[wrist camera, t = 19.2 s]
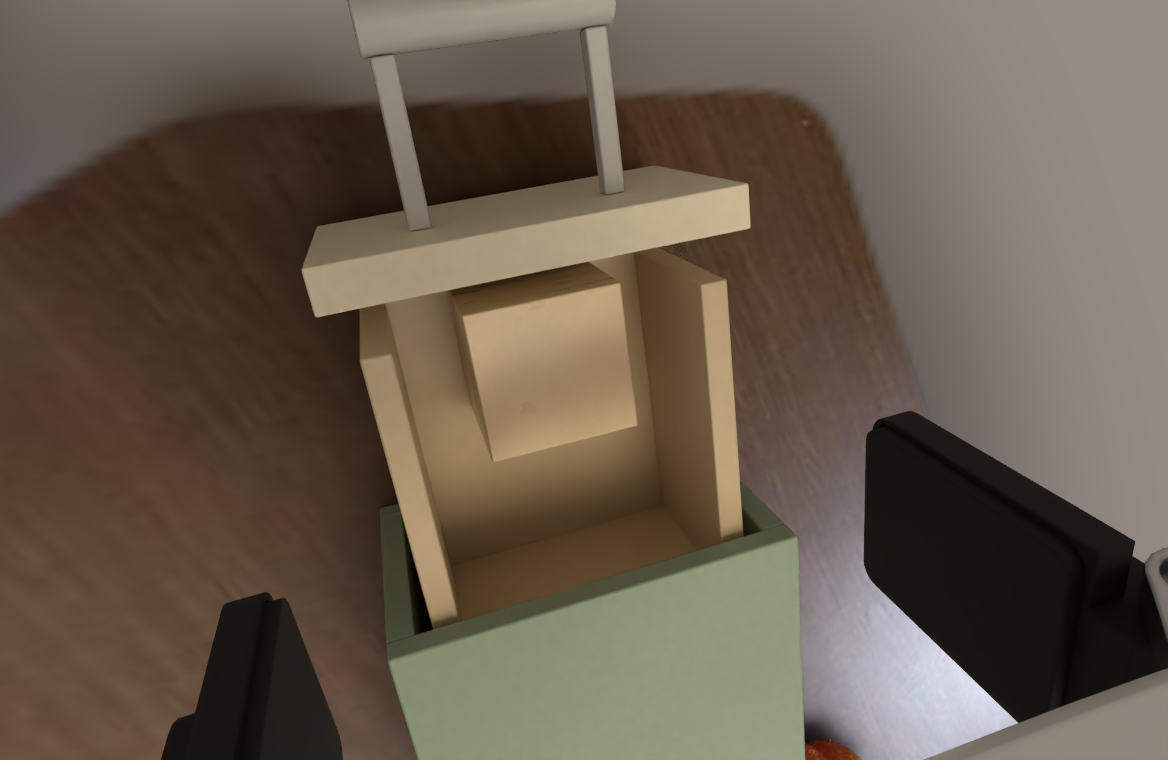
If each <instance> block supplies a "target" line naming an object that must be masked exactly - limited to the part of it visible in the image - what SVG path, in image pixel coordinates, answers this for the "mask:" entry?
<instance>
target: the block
mask: <svg viewBox="0 0 1168 760" xmlns="http://www.w3.org/2000/svg"><path fill="white" fill-rule="evenodd" d="M447 295H448V300H449V305H450V309H451V314H452V319H453V323H454V328H455V332H456V337H457V342H458V346H459V351H460V356H461V360H462V365H463V369H464V374H465V379H466V383H467V388H468V393H469V397H470V402H471V406H472V409H473V411H474V414H475V417H476V419H477V422H478V425H479V427H480V430H481V433H482V435H483V438H484V441H485V443H486V446H487V449H488V451H489V454H490V457H491V459H492V462H498V461H502V460H506V459H510V458H513V457H517V456H521V455H525V454H529V453H533V452H537V451H541V450H545V449H549V448H552V447H556V446H560V445H564V444H568V443H572V442H576V441H580V440H584V439H587V438H591V437H595V436H599V435H603V434H607V433H611V432H615V431H619V430H622V429H626V428H630V427H634V426H637V425H638V422H637V414H636V406H635V398H634V390H633V382H632V374H631V365H630V357H629V349H628V341H627V333H626V325H625V317H624V308H623V300H622V292H621V284H620V282H618V281H617V280H615V279H614V278H612V277H611V276H609V275H608V274H606V273H605V272H603V271H602V270H600V269H599V268H597V267H596V266H594V265H593V264H591V263H590V262H584V263H579V264H574V265H569V266H564V267H560V268H555V269H550V270H545V271H540V272H535V273H530V274H525V275H521V276H516V277H511V278H506V279H501V280H496V281H491V282H487V283H482V284H477V285H472V286H467V287H462V288H457V289H452V290H448V291H447Z"/></svg>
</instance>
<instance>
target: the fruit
mask: <svg viewBox="0 0 1168 760" xmlns="http://www.w3.org/2000/svg"><path fill="white" fill-rule="evenodd" d="M805 760H860V757H858V756H857V755H855V754H854V753H853V752H852V751H851V750H850V749H849V748H846V747H844V746H841V745H840V744H839V743H836V742H833V741H832V740H831V738H830V739H829V740H827V741H823V740H821V739H820V740H817V741H812V742H808V743H807V744H806V743H805Z"/></svg>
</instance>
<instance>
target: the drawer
mask: <svg viewBox="0 0 1168 760" xmlns="http://www.w3.org/2000/svg"><path fill="white" fill-rule="evenodd" d="M347 1H348V6H349V10H350V14H351V19H352V23H353V27H354V32H355V36H356V40H357V44H358V49H359V53H360V56H361V58H363V59H366V58H371V59H370V64H371V68H372V72H373V76H374V81H375V85H376V90H377V94H378V98H379V103H380V107H381V111H382V116H383V120H384V125H385V129H386V133H387V138H388V142H389V146H390V151H391V155H392V159H393V164H394V168H395V173H396V177H397V181H398V186H399V190H400V194H401V199H402V203H403V207H404V211H399V212H394V213H388V214H383V215H377V216H372V217H366V218H361V219H355V220H350V221H344V222H339V223H333V224H327V225H322V226H317V228H316V231H315V233H314V236H313V239H312V242H311V245H310V247H309V250H308V253H307V256H306V259H305V261H304V264H303V267H302V274H303V277H304V281H305V284H306V288H307V291H308V295H309V298H310V301H311V305H312V308H313V312H314V315H315V317H321V316H326V315H331V314H336V313H341V312H345V311H350V310H355V309H360V364H361V368H362V372H363V375H364V379H365V383H366V386H367V390H368V394H369V397H370V401H371V405H372V408H373V412H374V416H375V419H376V423H377V427H378V430H379V434H380V437H381V441H382V445H383V448H384V452H385V456H386V459H387V463H388V467H389V470H390V474H391V478H392V481H393V485H394V489H395V492H396V496H397V500H398V503H399V507H400V511H401V514H402V518H403V522H404V525H405V529H406V533H407V536H408V540H409V544H410V547H411V551H412V555H413V558H414V562H415V565H416V569H417V573H418V576H419V580H420V584H421V587H422V591H423V595H424V598H425V602H426V606H427V609H428V613H429V617H430V620H431V624H432V628H433V630H434V629H437V628H441V627H444V626H447V625H451V624H454V623H457V622H461V621H464V620H467V619H471V618H474V617H477V616H481V615H484V614H487V613H491V612H494V611H497V610H501V609H504V608H507V607H511V606H514V605H517V604H521V603H524V602H527V601H531V600H534V599H537V598H541V597H544V596H547V595H551V594H554V593H557V592H561V591H564V590H567V589H571V588H574V587H577V586H581V585H584V584H588V583H591V582H594V581H598V580H601V579H604V578H608V577H611V576H614V575H618V574H621V573H624V572H628V571H631V570H634V569H638V568H641V567H644V566H648V565H651V564H654V563H658V562H661V561H664V560H668V559H671V558H674V557H678V556H681V555H684V554H688V553H691V552H694V551H698V550H701V549H704V548H708V547H711V546H714V545H718V544H721V543H724V542H728V541H731V540H734V539H738V538H741V537H744V536H743V521H742V506H741V491H740V476H739V461H738V446H737V431H736V416H735V401H734V386H733V371H732V356H731V341H730V326H729V311H728V296H727V281H726V279H724V278H722V277H719V276H717V275H715V274H713V273H711V272H709V271H707V270H704V269H702V268H700V267H698V266H696V265H694V264H692V263H689V262H687V261H685V260H683V259H681V258H679V257H677V256H675V255H672V254H670V253H668V252H666V251H664V250H662V249H660V248H657V247H662V246H667V245H672V244H676V243H681V242H686V241H691V240H696V239H701V238H706V237H710V236H715V235H720V234H725V233H730V232H735V231H740V230H745V229H749V228H750V208H749V189H748V184H747V183H742V182H737V181H732V180H727V179H722V178H717V177H711V176H706V175H701V174H696V173H691V172H686V171H680V170H675V169H670V168H665V167H660V166H655V165H654V166H648V167H643V168H637V169H632V170H626V171H623V168H622V160H621V151H620V142H619V134H618V125H617V116H616V108H615V99H614V90H613V81H612V73H611V64H610V55H609V47H608V38H607V29H606V26H607V25H610V24H611V23H612V22H613V19H614V16H615V7H616V1H615V0H347ZM578 29H582V30H581V31H580V38H581V46H582V54H583V61H584V68H585V77H586V85H587V93H588V101H589V108H590V116H591V124H592V132H593V140H594V147H595V155H596V163H597V171H598V176H593V177H588V178H582V179H576V180H571V181H565V182H560V183H554V184H549V185H543V186H538V187H532V188H527V189H521V190H516V191H510V192H505V193H499V194H493V195H488V196H482V197H477V198H471V199H466V200H460V201H455V202H449V203H444V204H438V205H433V206H427V202H426V198H425V193H424V189H423V184H422V179H421V175H420V170H419V165H418V161H417V156H416V152H415V147H414V142H413V138H412V133H411V129H410V124H409V119H408V115H407V110H406V106H405V101H404V96H403V92H402V88H401V83H400V78H399V73H398V69H397V65H396V60H395V56H394V55H395V54H402V53H410V52H416V51H424V50H432V49H439V48H446V47H453V46H461V45H468V44H475V43H483V42H490V41H498V40H505V39H512V38H519V37H527V36H534V35H541V34H548V33H556V32H563V31H571V30H578ZM584 262H590V263H591V264H593V265H594V266H596V267H597V268H599V269H600V270H602V271H603V272H605V273H606V274H608V275H609V276H611V277H612V278H614V279H615V280H617V281H618V282H620V284H621V292H622V300H623V308H624V317H625V325H626V333H627V341H628V349H629V357H630V365H631V374H632V382H633V390H634V398H635V406H636V414H637V422H638V425H637V426H634V427H630V428H626V429H622V430H619V431H615V432H611V433H607V434H603V435H599V436H595V437H591V438H587V439H584V440H580V441H576V442H572V443H568V444H564V445H560V446H556V447H552V448H549V449H545V450H541V451H537V452H533V453H529V454H525V455H521V456H517V457H513V458H510V459H506V460H502V461H498V462H492V459H491V457H490V454H489V451H488V449H487V446H486V443H485V441H484V438H483V435H482V433H481V430H480V427H479V425H478V422H477V419H476V417H475V414H474V411H473V409H472V406H471V402H470V397H469V393H468V388H467V383H466V379H465V374H464V369H463V365H462V360H461V356H460V351H459V346H458V342H457V337H456V332H455V328H454V323H453V319H452V314H451V309H450V305H449V300H448V295H447V291H448V290H452V289H457V288H462V287H467V286H472V285H477V284H482V283H487V282H491V281H496V280H501V279H506V278H511V277H516V276H521V275H525V274H530V273H535V272H540V271H545V270H550V269H555V268H560V267H564V266H569V265H574V264H579V263H584Z"/></svg>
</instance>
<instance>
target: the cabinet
mask: <svg viewBox="0 0 1168 760" xmlns="http://www.w3.org/2000/svg"><path fill="white" fill-rule="evenodd" d="M740 491H741V506H742V521H743V536H744V537H741V538H738V539H734V540H731V541H728V542H724V543H721V544H718V545H714V546H711V547H708V548H704V549H701V550H698V551H694V552H691V553H688V554H684V555H681V556H678V557H674V558H671V559H668V560H664V561H661V562H658V563H654V564H651V565H648V566H644V567H641V568H638V569H634V570H631V571H628V572H624V573H621V574H618V575H614V576H611V577H608V578H604V579H601V580H598V581H594V582H591V583H588V584H584V585H581V586H577V587H574V588H571V589H567V590H564V591H561V592H557V593H554V594H551V595H547V596H544V597H541V598H537V599H534V600H531V601H527V602H524V603H521V604H517V605H514V606H511V607H507V608H504V609H501V610H497V611H494V612H491V613H487V614H484V615H481V616H477V617H474V618H471V619H467V620H464V621H461V622H457V623H454V624H451V625H447V626H444V627H441V628H437V629H434V630H433V628H432V624H431V620H430V617H429V613H428V609H427V606H426V602H425V598H424V595H423V591H422V587H421V584H420V580H419V576H418V573H417V569H416V565H415V562H414V558H413V555H412V551H411V547H410V544H409V540H408V536H407V533H406V529H405V525H404V522H403V518H402V514H401V511H400V507H399V503H398V504H394V505H390V506H386V507H383V508H380V526H381V546H382V566H383V586H384V606H385V625H386V643H387V660H388V665H389V668H390V671H391V675H392V678H393V681H394V684H395V688H396V691H397V694H398V697H399V700H400V704H401V707H402V710H403V713H404V717H405V720H406V723H407V726H408V730H409V733H410V736H411V739H412V742H413V746H414V749H415V752H416V755H417V759H418V760H805V739H804V709H803V679H802V649H801V619H800V589H799V559H798V537H797V535H796V534H795V533H794V532H793V531H792V530H790V529H789V528H788V527H787V526H786V525H784V523H783V522H782V521H781V520H780V519H779V518H778V517H777V516H776V515H775V514H774V513H773V512H772V511H771V510H770V509H769V508H768V507H767V506H766V505H765V504H764V503H763V502H762V501H761V500H760V499H759V498H758V497H757V496H756V495H755V494H754V493H753V492H752V491H751V490H750V489H749V488H748V487H747V486H746V485H744V484H743V483H742V482H741V481H740Z"/></svg>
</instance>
